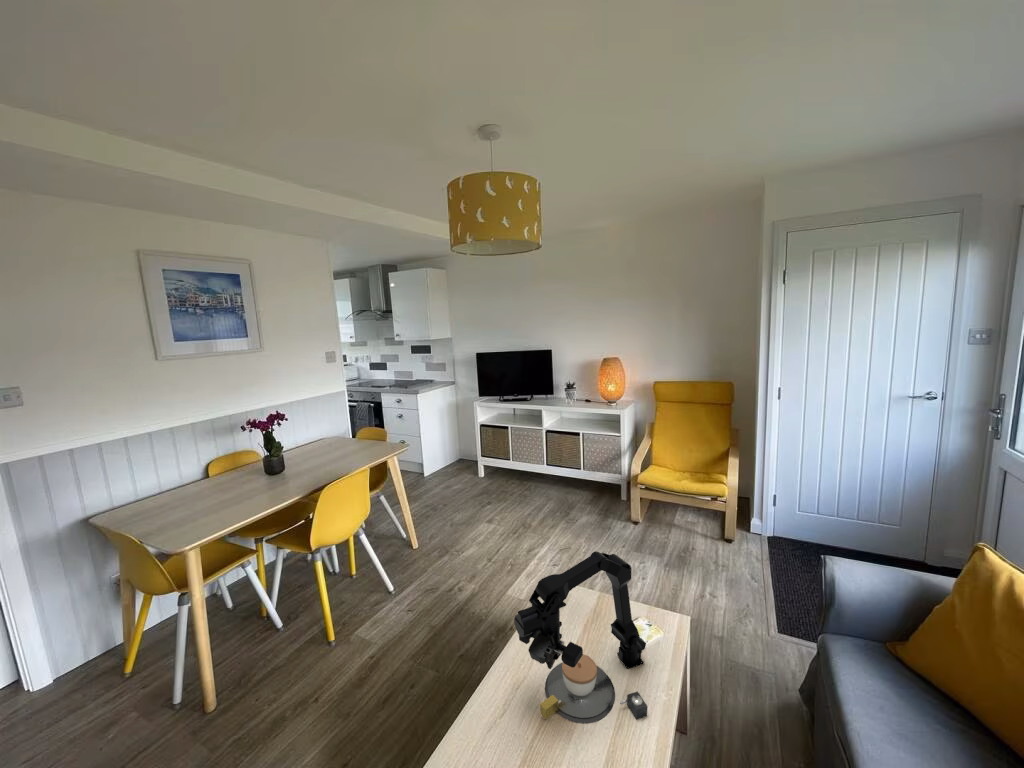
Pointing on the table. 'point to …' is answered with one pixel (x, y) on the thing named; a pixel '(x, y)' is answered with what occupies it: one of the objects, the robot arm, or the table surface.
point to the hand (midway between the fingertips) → (550, 667)
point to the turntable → (576, 697)
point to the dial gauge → (636, 705)
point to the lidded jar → (580, 676)
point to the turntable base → (584, 719)
